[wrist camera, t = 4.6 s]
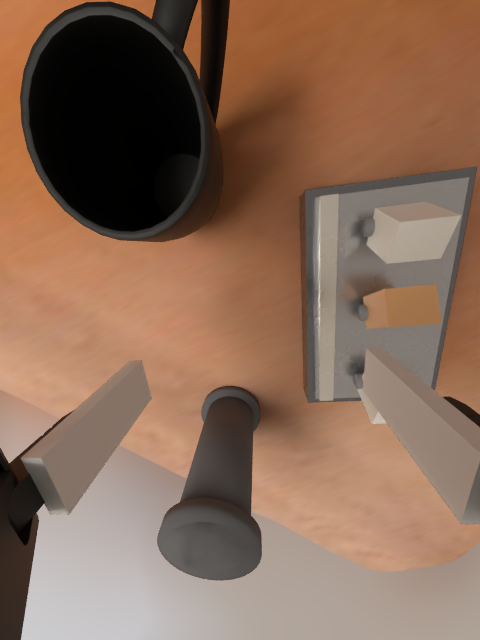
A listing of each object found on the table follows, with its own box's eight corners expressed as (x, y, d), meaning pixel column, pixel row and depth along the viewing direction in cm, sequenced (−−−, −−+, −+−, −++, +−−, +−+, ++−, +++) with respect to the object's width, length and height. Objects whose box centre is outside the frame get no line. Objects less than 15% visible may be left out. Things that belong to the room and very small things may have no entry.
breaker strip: (299, 196, 18) (306, 187, 15) (449, 176, 16) (486, 163, 14) (303, 388, 23) (309, 406, 20) (416, 383, 22) (438, 402, 19)
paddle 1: (356, 366, 18) (375, 408, 15) (403, 364, 18) (431, 406, 15) (351, 383, 20) (367, 423, 17) (394, 381, 19) (417, 422, 17)
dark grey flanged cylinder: (198, 387, 24) (146, 512, 13) (257, 384, 23) (256, 514, 12) (207, 433, 26) (169, 578, 15) (262, 432, 25) (265, 582, 14)
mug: (284, 124, 16) (316, -28, 7) (201, 262, 20) (155, 275, 11) (189, 47, 15) (92, -238, 6) (121, 206, 19) (-3, 170, 10)
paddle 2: (366, 206, 15) (393, 223, 12) (425, 198, 14) (467, 214, 11) (358, 242, 16) (381, 264, 13) (411, 236, 16) (446, 257, 13)
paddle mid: (355, 298, 17) (379, 289, 14) (404, 294, 17) (441, 284, 13) (358, 328, 17) (383, 327, 14) (408, 325, 17) (447, 323, 13)
